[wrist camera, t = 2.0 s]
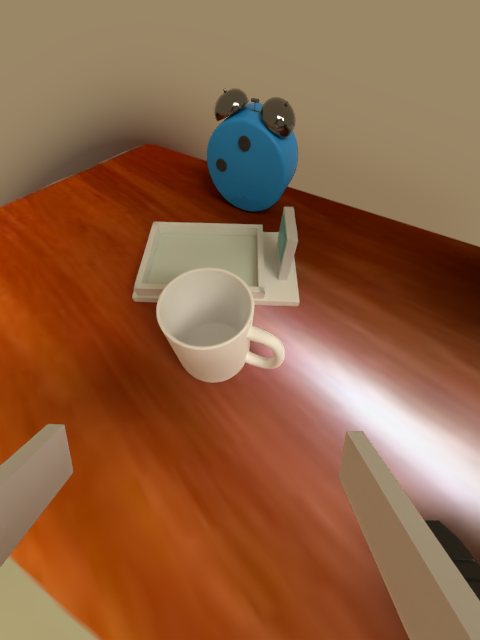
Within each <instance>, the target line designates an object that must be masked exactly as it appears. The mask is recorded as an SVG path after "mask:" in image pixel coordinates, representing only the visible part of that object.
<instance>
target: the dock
mask: <svg viewBox="0 0 480 640" xmlns="http://www.w3.org/2000/svg"><path fill="white" fill-rule="evenodd" d="M297 243H298V236H297V228H296V221H295V214H294V207H284V210H283V215H282V218H281V223H280V229H279V232H263V225H256V224H219V223H181V222H153V225H152V228H151V232H150V235H149V238H148V242H147V245H146V248H145V252H144V255H143V258H142V261H141V265H140V268H139V271H138V275H137V278H136V281H135V285H134V288H133V289H134V293H133V296H132V298H133V300H134V301H135V302H158V299H159V296H160V294H161V292H162V291H163V289H164V288H165V287H166V285H167V284H168V283H169V282H170V281H172V280H173V279H174V278H175V277H177V276H179V275H180V274H182V273H184V272H187V271H189V270H193V269H197V268H205V267H211V268H219V269H223V270H227V271H229V272H231V273H233V274H235V275H237V276H238V277H239V278H241V279H242V280H243V281H244V282H245V283H246V284H247V286H248V287H249V289H250V291H251V293H252V295H253V299H254V305H274V306H298V305H299V302H300V301H299V293H298V284H297V276H296V268H295V259H294V254H295V250H296V247H297Z"/></svg>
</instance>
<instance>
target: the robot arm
mask: <svg viewBox="0 0 480 640" xmlns="http://www.w3.org/2000/svg"><path fill="white" fill-rule="evenodd" d="M72 473H73V467H72V462H71V456H70V451H69V446H68V441H67V436H66V431H65V426H64V424H47V425H46V426H45V427H44V428H43V429H42V430H40V431H39V432H38V433H37V434H36V435H35V436H34V437H32V438H31V439H30V440H29V441H28V442H27V443H26V444H25V445H23V446H22V447H21V448H20V449H19V450H18V451H17V452H15V453H14V454H13V455H12V456H11V457H10V458H9V459H7V460H6V461H5V462H4V463H3V464H2V465H1V466H0V567H1V566H2V564H3V563H4V562H5V560H6V559H7V558H8V557H9V555H10V554H11V553H12V551H13V550H14V549H15V547H16V546H17V545H18V544H19V542H20V541H21V540H22V538H23V537H24V536H25V534H26V533H27V532H28V531H29V529H30V528H31V527H32V525H33V524H34V523H35V521H36V520H37V519H38V518H39V516H40V515H41V514H42V512H43V511H44V510H45V508H46V507H47V506H48V505H49V503H50V502H51V501H52V499H53V498H54V497H55V495H56V494H57V493H58V491H59V490H60V489H61V488H62V486H63V485H64V484H65V482H66V481H67V480H68V478H69V477H70V476H71V475H72ZM339 480H340V482H341V485H342V487H343V489H344V491H345V494H346V496H347V498H348V501H349V503H350V505H351V507H352V510H353V512H354V514H355V517H356V519H357V521H358V523H359V526H360V528H361V530H362V532H363V535H364V537H365V539H366V542H367V544H368V546H369V548H370V551H371V553H372V555H373V558H374V560H375V562H376V564H377V567H378V569H379V571H380V574H381V576H382V578H383V580H384V583H385V585H386V587H387V590H388V592H389V594H390V596H391V599H392V601H393V603H394V606H395V608H396V610H397V612H398V615H399V617H400V619H401V622H402V624H403V626H404V628H405V631H406V633H407V635H408V638H409V640H480V566H479V565H478V563H475V561H474V558H473V557H472V556H471V554H470V553H469V552H468V550H467V549H466V548H465V547H464V545H463V544H462V543H461V541H460V540H459V539H458V538H457V537H456V536H455V535H454V534H453V533H452V532H451V531H450V530H448V529H447V528H446V527H445V526H444V525H443V524H442V523H441V522H440V521H425V520H424V519H423V518H422V517H421V515H420V514H419V512H418V511H417V509H416V508H415V506H414V505H413V503H412V502H411V501H410V499H409V498H408V496H407V495H406V493H405V492H404V490H403V489H402V488H401V486H400V485H399V483H398V482H397V480H396V479H395V477H394V476H393V474H392V473H391V472H390V470H389V469H388V467H387V466H386V464H385V463H384V461H383V460H382V459H381V457H380V456H379V454H378V453H377V451H376V450H375V448H374V447H373V445H372V444H371V443H370V441H369V440H368V438H367V437H366V435H365V434H364V432H363V431H346V437H345V443H344V449H343V455H342V461H341V467H340V473H339Z"/></svg>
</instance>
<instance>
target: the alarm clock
mask: <svg viewBox="0 0 480 640" xmlns="http://www.w3.org/2000/svg"><path fill="white" fill-rule="evenodd" d="M251 101H252V102H256V103H250V104H247V103H248V102H249V100H248V98H247V95H246V94H245V92H243V91H242V90H240V89H237V88H232V89H230V90H228V91H226V89H224V93H223V94H222V95H221V96H220V97H219V98H218V100H217V102H216V104H215V109H214V114H215V117H216V120H217V121H219V120H221V119H224V118H226V117H228V116H229V115H230V116H229V117H228V118H226V119H225V120H224V121H223V122H222V123H221V124H220V125H219V126H218V127H217V128H216V129H215V130H214V132H213V134H212V136H211V137H210V140H209V143H208V148H207V164H208V169H209V173H210V176H211V178H212V181H213V183H214V185H215V186H216V188H217V190H218V191H219V192H220V194H221V195H222V196H223V197H224V198H225V199H226V200H227V201H228V202H230V203H231V204H232V205H234V206H236V207H237V208H240V209H242V210H245V211H251V212H257V211H263V210H266V209H268V208H270V207H271V206H273V205H274V204H275V203H276V202H277V201H278V200H279V198H280V197H281V195H282V194H283V192H284V191H285V189H286V188H287V186H288V184H289V183H290V181H291V180H292V178H293V176H294V173H295V171H296V167H297V161H298V148H297V142H296V138H295V135H294V133H293V129H294V127H295V113H294V111H293V108H292V106H291V105H290V104H289V103H288V102H287V101H286V100H285V99H283V98H280V97H272V98H270V99H268V100H267V101H266V102H265V103H264V104H261V103H259V99H255V98H252V99H251ZM246 104H247V105H246Z"/></svg>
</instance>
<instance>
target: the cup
mask: <svg viewBox="0 0 480 640" xmlns="http://www.w3.org/2000/svg"><path fill="white" fill-rule="evenodd" d="M253 315H254V299H253V295H252V293H251V291H250V289H249V287H248V286H247V284H246V283H245V282H244V281H243V280H242V279H241V278H239V277H238V276H237V275H235V274H233V273H231V272H229V271H227V270H223V269H219V268H211V267H205V268H197V269H193V270H189V271H187V272H184V273H182V274H180V275H179V276H177V277H175V278H174V279H173V280H172V281H170V282H169V283H168V284H167V285H166V287H165V288H164V289H163V291H162V292H161V294H160V296H159V299H158V302H157V306H156V316H157V321H158V324H159V326H160V328H161V330H162V331H163V333H164V335H165V337H166V338H167V340H168V342H169V343H170V345H171V347H172V349H173V350H174V352H175V354H176V355H177V357H178V359H179V361H180V362H181V364H182V366H183V367H184V368H185V370H186V371H187V372H188V373H189V374H190V375H192V376H193V377H194V378H196V379H198V380H201V381H204V382H211V383H215V382H221V381H225V380H227V379H230V378H231V377H233V376H235V375H236V374H237V373H238V372H239V371H240V370H241V369H242V368H243V366H244V364H245V363H248V364H251V365H253V366H256V367H260V368H265V369H273V368H277V367H278V366H280V365H281V364H282V362H283V361H284V358H285V349H284V346H283V344H282V342H281V341H280V340H279V339H278V338H277V337H276V336H275V335H273V334H272V333H270V332H268V331H265V330H263V329H260V328H258V327H255V326H252V323H253ZM250 340H251V341H254V342H257V343H260V344H263V345H265V346H267V347H269V348H270V349H271V350H272V351H273V358H265V357H262V356H259V355H257V354H254V353H252V352H250V351H249V348H250Z"/></svg>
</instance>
